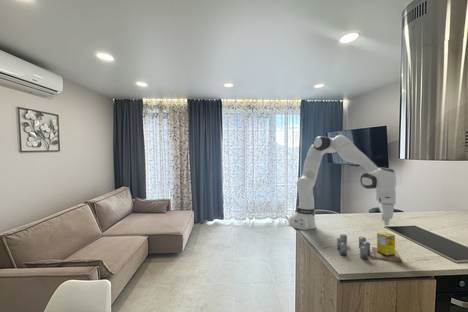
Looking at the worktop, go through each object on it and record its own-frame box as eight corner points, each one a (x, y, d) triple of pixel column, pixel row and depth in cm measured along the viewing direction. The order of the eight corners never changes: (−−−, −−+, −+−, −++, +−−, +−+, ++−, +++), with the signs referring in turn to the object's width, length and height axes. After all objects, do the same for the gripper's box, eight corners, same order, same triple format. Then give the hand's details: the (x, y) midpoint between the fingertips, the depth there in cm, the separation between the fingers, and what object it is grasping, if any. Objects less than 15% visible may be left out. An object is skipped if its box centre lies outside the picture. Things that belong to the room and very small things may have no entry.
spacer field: (336, 254, 126) (336, 244, 126) (337, 243, 141) (337, 233, 141) (371, 260, 118) (371, 249, 118) (368, 247, 134) (368, 237, 134)
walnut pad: (374, 258, 121) (374, 256, 121) (372, 248, 133) (372, 247, 133) (402, 263, 116) (402, 261, 116) (396, 252, 128) (396, 250, 128)
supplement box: (395, 255, 122) (395, 235, 122) (386, 256, 121) (386, 236, 121) (385, 250, 128) (385, 231, 128) (376, 252, 127) (376, 232, 126)
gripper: (376, 193, 134) (376, 216, 135) (381, 200, 116) (380, 227, 117) (389, 194, 132) (389, 218, 132) (396, 201, 113) (395, 229, 114)
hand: (385, 222), depth 124 cm, fingers open, 8 cm apart
